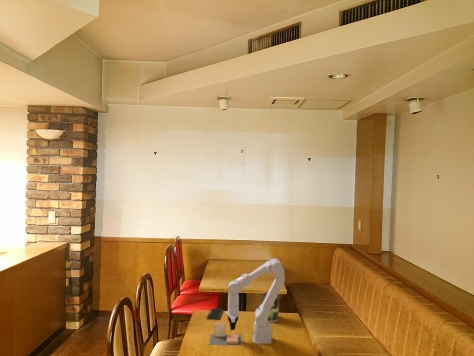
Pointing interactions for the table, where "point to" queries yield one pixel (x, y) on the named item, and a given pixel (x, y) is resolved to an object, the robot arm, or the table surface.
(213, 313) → the phone
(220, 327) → the tile
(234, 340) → the tile
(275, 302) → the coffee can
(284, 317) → the table surface
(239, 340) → the mat
